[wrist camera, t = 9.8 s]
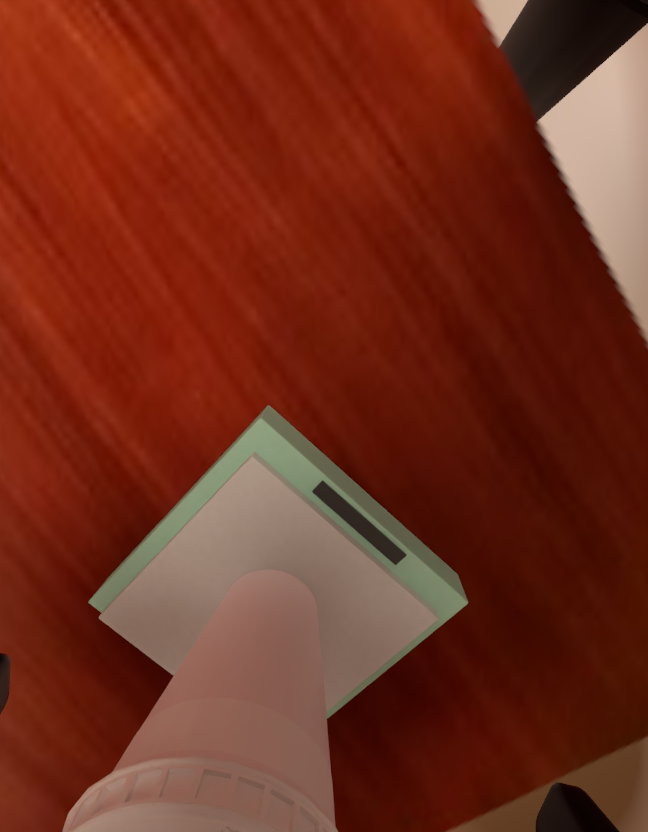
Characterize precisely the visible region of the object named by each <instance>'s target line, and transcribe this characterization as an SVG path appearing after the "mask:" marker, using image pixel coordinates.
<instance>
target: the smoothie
mask: <svg viewBox="0 0 648 832" xmlns="http://www.w3.org/2000/svg"><path fill="white" fill-rule="evenodd" d="M62 832H338V831H337V829H336V827H335V815H334V800H333V784H332V777H331V766H330V754H329V742H328V730H327V717H326V705H325V693H324V681H323V668H322V656H321V644H320V632H319V619H318V608H317V603H316V600H315V598H314V596H313V594H312V592H311V591H310V589H309V588H308V587H307V586H306V585H305V584H304V583H303V582H302V581H301V580H300V579H298V578H297V577H295V576H293V575H291V574H289V573H286V572H283V571H279V570H273V569H263V570H256V571H253V572H250V573H247V574H245V575H243V576H242V577H240V578H239V579H238V580H236V581H235V582H234V583H233V585H232V586H231V587H230V589H229V590H228V592H227V593H226V595H225V597H224V598H223V600H222V601H221V603H220V604H219V606H218V608H217V609H216V611H215V612H214V614H213V615H212V617H211V618H210V620H209V622H208V623H207V625H206V626H205V628H204V629H203V631H202V633H201V634H200V636H199V637H198V639H197V640H196V642H195V643H194V645H193V647H192V648H191V650H190V651H189V653H188V654H187V656H186V658H185V659H184V661H183V662H182V664H181V665H180V667H179V669H178V670H177V672H176V673H175V675H174V676H173V678H172V679H171V681H170V683H169V684H168V686H167V687H166V689H165V690H164V692H163V694H162V695H161V697H160V698H159V700H158V701H157V703H156V705H155V706H154V708H153V709H152V711H151V712H150V714H149V715H148V717H147V719H146V720H145V722H144V723H143V725H142V726H141V728H140V729H139V731H138V732H137V733H136V735H135V736H134V738H133V740H132V741H131V743H130V744H129V746H128V748H127V749H126V751H125V752H124V754H123V756H122V757H121V759H120V761H119V762H118V764H117V765H116V767H115V769H114V770H113V772H112V773H111V774H109V775H107V776H106V777H104V778H103V779H101V780H100V781H98V782H97V783H95V784H94V785H92V786H90V787H89V788H88V789H87V790H86V791H85V793H84V794H83V795H82V796H81V798H80V799H79V800H78V801H77V803H76V804H75V805H74V806H73V808H72V809H71V810H70V811H69V813H68V816H67V819H66V822H65V825H64V828H63V831H62Z"/></svg>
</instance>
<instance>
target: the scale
mask: <svg viewBox="0 0 648 832" xmlns="http://www.w3.org/2000/svg"><path fill="white" fill-rule="evenodd" d="M263 569H273V570H279V571H283V572H286V573H289V574H291V575H293V576H295V577H297V578H298V579H300V580H301V581H302V582H303V583H304V584H305V585H306V586H307V587H308V588H309V589H310V591H311V592H312V594H313V596H314V598H315V600H316V603H317V608H318V619H319V632H320V644H321V656H322V668H323V681H324V693H325V705H326V717H327V719H328V718H329V717H330V716H331V715H333V714H334V713H335V712H336V711H338V710H339V709H340V708H341V707H342V706H344V705H345V704H346V703H347V702H349V701H350V700H351V699H352V698H353V697H355V696H356V695H357V694H358V693H359V692H361V691H362V690H363V689H364V688H366V687H367V686H368V685H369V684H370V683H372V682H373V681H374V680H375V679H377V678H378V677H379V676H380V675H381V674H383V673H384V672H385V671H386V670H388V669H389V668H390V667H391V666H392V665H394V664H395V663H396V662H397V661H399V660H400V659H401V658H402V657H403V656H405V655H406V654H407V653H408V652H410V651H411V650H412V649H413V648H414V647H416V646H417V645H418V644H419V643H421V642H422V641H423V640H424V639H425V638H427V637H428V636H429V635H430V634H432V633H433V632H434V631H435V630H436V629H438V628H439V627H440V626H441V625H443V624H444V623H445V622H446V621H447V620H449V619H450V618H451V617H452V616H453V615H455V614H456V613H457V612H458V611H460V610H461V609H462V608H463V607H464V606H466V605H467V604H468V600H467V598H466V595H465V592H464V590H463V587H462V584H461V582H460V579H459V576H458V574H457V573H456V572H455V571H453V570H452V569H451V568H450V567H449V566H448V565H447V564H446V563H445V562H443V561H442V560H441V559H440V558H439V557H438V556H437V555H436V554H434V553H433V552H432V551H431V550H430V549H429V548H428V547H427V546H426V545H424V544H423V543H422V542H421V541H420V540H419V539H418V538H417V537H416V536H414V535H413V534H412V533H411V532H410V531H409V530H408V529H407V528H406V527H404V526H403V525H402V524H401V523H400V522H399V521H398V520H397V519H396V518H394V517H393V516H392V515H391V514H390V513H389V512H388V511H387V510H385V509H384V508H383V507H382V506H381V505H380V504H379V503H378V502H377V501H375V500H374V499H373V498H372V497H371V496H370V495H369V494H368V493H367V492H365V491H364V490H363V489H362V488H361V487H360V486H359V485H358V484H357V483H355V482H354V481H353V480H352V479H351V478H350V477H349V476H348V475H346V474H345V473H344V472H343V471H342V470H341V469H340V468H339V467H338V466H336V465H335V464H334V463H333V462H332V461H331V460H330V459H329V458H328V457H326V456H325V455H324V454H323V453H322V452H321V451H320V450H319V449H318V448H316V447H315V446H314V445H313V444H312V443H311V442H310V441H309V440H307V439H306V438H305V437H304V436H303V435H302V434H301V433H300V432H299V431H297V430H296V429H295V428H294V427H293V426H292V425H291V424H290V423H289V422H287V421H286V420H285V419H284V418H283V417H282V416H281V415H280V414H279V413H277V412H276V411H275V410H274V409H273V408H272V407H271V406H269V405H268V406H267V407H266V408H265V409H264V410H263V411H262V412H261V413H260V415H259V416H258V417H257V418H256V419H255V420H254V421H253V422H252V423H251V424H250V425H249V426H248V427H247V429H246V430H245V431H244V432H243V433H242V434H241V435H240V436H239V437H238V438H237V439H236V440H235V441H234V442H233V444H232V445H231V446H230V447H229V448H228V449H227V450H226V451H225V452H224V453H223V454H222V455H221V456H220V458H219V459H218V460H217V461H216V462H215V463H214V464H213V465H212V466H211V467H210V468H209V469H208V470H207V472H206V473H205V474H204V475H203V476H202V477H201V478H200V479H199V480H198V481H197V482H196V483H195V484H194V486H193V487H192V488H191V489H190V490H189V491H188V492H187V493H186V494H185V495H184V496H183V497H182V498H181V500H180V501H179V502H178V503H177V504H176V505H175V506H174V507H173V508H172V509H171V510H170V511H169V512H168V514H167V515H166V516H165V517H164V518H163V519H162V520H161V521H160V522H159V523H158V524H157V525H156V526H155V528H154V529H153V530H152V531H151V532H150V533H149V534H148V535H147V536H146V537H145V538H144V539H143V540H142V542H141V543H140V544H139V545H138V546H137V547H136V548H135V549H134V550H133V551H132V552H131V553H130V554H129V555H128V557H127V558H126V559H125V560H124V561H123V562H122V563H121V564H120V565H119V566H118V567H117V568H116V569H115V571H114V572H113V573H112V574H111V575H110V576H109V577H108V578H107V580H106V581H105V582H104V583H103V584H102V586H101V587H100V588H99V589H98V590H97V592H96V593H95V594H94V595H93V596H92V598H91V599H90V600H89V602H88V603H89V604H91V605H92V606H93V607H94V608H96V609H97V610H98V611H100V612H101V614H100V616H99V619H100V620H101V621H103V622H104V623H105V624H106V625H108V626H109V627H110V628H112V629H113V630H114V631H116V632H117V633H118V634H120V635H121V636H122V637H123V638H125V639H126V640H127V641H129V642H130V643H131V644H133V645H134V646H135V647H136V648H138V649H139V650H140V651H142V652H143V653H144V654H146V655H147V656H148V657H150V658H151V659H152V660H153V661H155V662H156V663H157V664H159V665H160V666H161V667H163V668H164V669H165V670H167V671H168V672H169V673H170V674H172V675H173V676H174V675H175V673H176V672H177V670H178V669H179V667H180V665H181V664H182V662H183V661H184V659H185V658H186V656H187V654H188V653H189V651H190V650H191V648H192V647H193V645H194V643H195V642H196V640H197V639H198V637H199V636H200V634H201V633H202V631H203V629H204V628H205V626H206V625H207V623H208V622H209V620H210V618H211V617H212V615H213V614H214V612H215V611H216V609H217V608H218V606H219V604H220V603H221V601H222V600H223V598H224V597H225V595H226V593H227V592H228V590H229V589H230V587H231V586H232V585H233V583H234V582H235V581H236V580H238V579H239V578H240V577H242V576H243V575H245V574H247V573H250V572H253V571H256V570H263Z"/></svg>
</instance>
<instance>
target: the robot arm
mask: <svg viewBox="0 0 648 832" xmlns="http://www.w3.org/2000/svg"><path fill="white" fill-rule="evenodd" d="M9 681H10V658H9V656H8V655H6V654H2V653H0V714H1V712H2V710H3V709H4V707H5V704H6V702H7V699H8V695H9ZM536 832H619V831H618V829H617V828H616V827H615V826H614V825H613V824H612V822H611V821H610V820H609V819H608V818H607V817H606V815H605V814H604V813H603V812H602V811H601V810H600V809H599V808H598V806H597V805H596V804H595V803H594V801H593V800H592V799H591V798H590V797H589V796H588V795H587V793H586V792H585V791H583V790H582V789H581V788H579V787H576V786H571V785H567V784H563V783H555V784H554V785H552V787H551V789H550V791H549V793H548V795H547V797H546V799H545V801H544V803H543V805H542V807H541V809H540V811H539V814H538V816H537V820H536Z"/></svg>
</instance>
